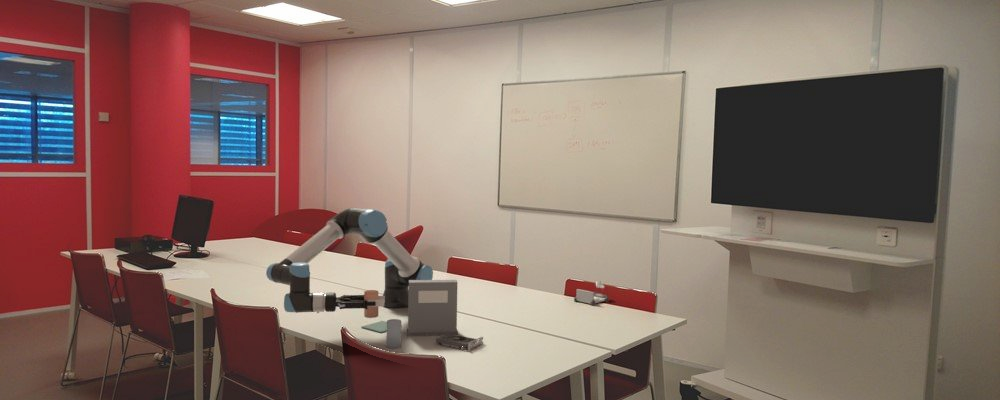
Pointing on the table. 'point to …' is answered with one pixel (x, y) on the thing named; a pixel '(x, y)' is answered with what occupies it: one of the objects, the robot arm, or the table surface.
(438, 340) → the graphics card
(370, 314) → the cylinder
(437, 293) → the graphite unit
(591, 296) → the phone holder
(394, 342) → the slate cartridge
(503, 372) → the table surface
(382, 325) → the green mat
